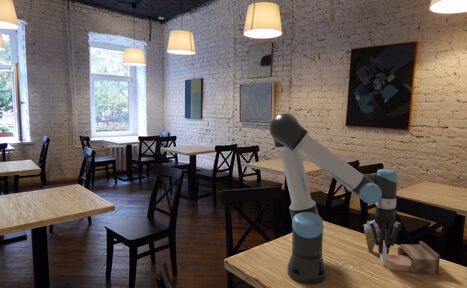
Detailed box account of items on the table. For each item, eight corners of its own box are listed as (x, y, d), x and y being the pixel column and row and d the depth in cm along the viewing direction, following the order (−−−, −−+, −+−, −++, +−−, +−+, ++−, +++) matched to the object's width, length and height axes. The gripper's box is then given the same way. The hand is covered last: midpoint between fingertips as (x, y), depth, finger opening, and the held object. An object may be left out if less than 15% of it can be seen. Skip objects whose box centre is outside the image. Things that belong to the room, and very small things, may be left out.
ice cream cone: (359, 251, 142) (361, 219, 140) (364, 246, 146) (366, 216, 144) (374, 255, 137) (376, 223, 135) (379, 251, 142) (381, 219, 140)
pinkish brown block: (388, 270, 125) (389, 264, 125) (380, 259, 134) (380, 254, 134) (419, 271, 124) (420, 266, 124) (409, 261, 133) (409, 255, 133)
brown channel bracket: (412, 273, 122) (413, 254, 121) (397, 257, 135) (398, 240, 134) (438, 274, 121) (439, 255, 120) (421, 258, 134) (422, 241, 134)
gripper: (372, 209, 124) (370, 264, 126) (406, 209, 122) (403, 265, 125) (366, 203, 131) (364, 256, 134) (397, 204, 130) (395, 257, 132)
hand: (383, 260), depth 129 cm, fingers closed
